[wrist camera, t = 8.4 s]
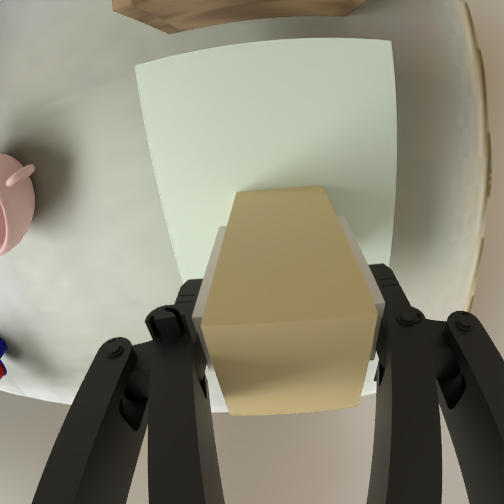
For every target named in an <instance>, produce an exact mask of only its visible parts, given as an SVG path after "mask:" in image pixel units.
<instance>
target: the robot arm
mask: <svg viewBox="0 0 504 504" xmlns="http://www.w3.org/2000/svg"><path fill="white" fill-rule="evenodd" d="M337 218H338V220H339V222H340V225H341V227H342V229H343V231H344V233H345V235H346V238H347V240H348V242H349V244H350V247H351V249H352V251H353V253H354V256H355V258H356V260H357V263H358V265H359V267H360V270H361V272H362V274H363V277H364V279H365V282H366V284H367V286H368V289H369V291H370V294H371V296H372V299H373V301H374V304H375V306H376V309H377V312H378V316H377V321H376V327H375V333H374V338H373V343H372V348H371V353H370V358H369V361H370V360H374V357H375V353H376V351H377V354H378V357H379V362H378V366H377V370H376V374H375V378H374V381H377V392H376V416H375V433H374V445H373V456H372V465H371V475H370V483H369V490H368V497H367V504H441V500H442V499H441V498H442V444H441V426H440V413H439V404H440V407H441V410H442V413H443V415H444V418H445V421H446V424H447V427H448V430H449V433H450V436H451V439H452V442H453V445H454V448H455V451H456V455H457V458H458V462H459V465H460V468H461V472H462V476H463V479H464V483H465V487H466V490H467V495H468V499H469V503H470V504H504V361H503V358H502V357H501V355H500V353H499V352H498V350H497V348H496V347H495V345H494V343H493V342H492V340H491V338H490V337H489V335H488V334H487V332H486V330H485V329H484V327H483V326H482V324H481V323H480V321H479V320H478V319H477V318H476V317H475V316H474V315H472V314H471V313H469V312H465V311H456V312H453V313H451V314H450V315H449V317H448V319H447V322H446V321H435V320H429V319H426V318H425V316H424V314H423V313H422V312H421V311H420V310H418V309H416V308H414V307H411V305H410V303H409V301H408V299H407V298H406V296H405V294H404V292H403V290H402V288H401V286H400V285H399V282H398V281H397V279H396V277H395V275H394V273H393V271H392V270H391V269H390V268H389V267H388V266H386V265H385V264H384V263H380V264H369V265H368V263H367V261H366V259H365V257H364V255H363V253H362V251H361V249H360V247H359V245H358V243H357V241H356V239H355V237H354V235H353V233H352V231H351V229H350V227H349V225H348V223H347V221H346V219H345V217H344V216H337ZM226 227H227V226H220V227H219V230H218V233H217V236H216V239H215V242H214V245H213V249H212V252H211V255H210V258H209V261H208V265H207V268H206V271H205V275H204V278H203V279H188V280H187V281H186V282H185V283H184V284H183V285H182V286H181V288H180V291H179V293H178V297H177V298H176V301H175V304H174V305H165V306H161V307H158V308H156V309H155V310H153V311H151V312H150V313H149V314H148V316H147V317H146V320H145V323H146V325H147V327H148V330H149V332H150V334H151V337H152V339H153V340H151V341H149V342H145V343H141V344H137V345H133V346H132V344H131V342H130V341H129V340H128V339H127V338H123V337H117V338H113V339H110V340H108V341H107V342H105V343H104V344H103V345H102V346H101V347H100V349H99V350H98V352H97V354H96V356H95V358H94V360H93V362H92V364H91V366H90V368H89V370H88V372H87V374H86V376H85V378H84V380H83V382H82V384H81V386H80V388H79V390H78V392H77V394H76V397H75V399H74V401H73V403H72V405H71V407H70V409H69V412H68V414H67V416H66V418H65V421H64V423H63V426H62V427H61V430H60V432H59V434H58V437H57V439H56V441H55V444H54V446H53V449H52V451H51V454H50V456H49V458H48V461H47V463H46V466H45V469H44V471H43V474H42V477H41V479H40V482H39V484H38V487H37V490H36V493H35V496H34V498H33V501H32V504H126V501H127V497H128V493H129V489H130V485H131V482H132V478H133V474H134V471H135V467H136V463H137V460H138V456H139V453H140V449H141V445H142V442H143V438H144V435H145V431H146V428H147V424H148V491H149V504H225V502H224V496H223V491H222V484H221V478H220V472H219V465H218V459H217V452H216V445H215V438H214V430H213V423H212V415H211V407H210V399H209V390H208V381H207V378H206V375H205V369H206V364H207V365H208V368H209V371H210V372H215V370H214V367H213V364H212V361H211V358H210V355H209V352H208V348H207V345H206V342H205V339H204V336H203V332H202V329H201V322H202V318H203V314H204V310H205V307H206V303H207V299H208V295H209V291H210V287H211V283H212V279H213V276H214V272H215V268H216V264H217V261H218V257H219V253H220V249H221V246H222V242H223V238H224V235H225V231H226Z"/></svg>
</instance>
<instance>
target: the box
mask: <svg viewBox="0 0 504 504" xmlns="http://www.w3.org/2000/svg"><path fill="white" fill-rule="evenodd" d="M365 1H366V0H112V7H113V11H115V12H117V13H120V14H123V15H125V16H128V17H130V18H133V19H135V20H138V21H140V22H143V23H145V24H148V25H150V26H152V27H154V28H157V29H159V30H161V31H164V32H166V33H168V34H172V33H176V32H181V31H185V30H190V29H195V28H200V27H205V26H210V25H216V24H222V23H229V22H236V21H243V20H252V19H262V18H273V17H289V16H347V15H348V14H349V13H350V12H352V11H353V10H354V9H356V8H357V7H358V6H359V5H361V4H362V3H363V2H365Z"/></svg>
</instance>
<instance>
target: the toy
mask: <svg viewBox="0 0 504 504" xmlns="http://www.w3.org/2000/svg"><path fill="white" fill-rule="evenodd" d="M6 350H7V345H6V344H5V342H4V341H3V340H2V339H1V338H0V359H1V357H2V356H3V354H4V353H5V351H6ZM6 373H7V370H6V368H5V366H4V364H3V363H2V361H1V360H0V379H1V378H2V377H3V376H4V375H6Z"/></svg>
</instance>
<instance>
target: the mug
mask: <svg viewBox="0 0 504 504" xmlns="http://www.w3.org/2000/svg"><path fill="white" fill-rule="evenodd" d="M34 171H35V166H34V165H33V164H30V165H27V166H25V167H23V166H22V164H21V163H20V162H19V161H17V160H16V159H15V158H13V157H11V156H9V155H6V154H0V256H1V255H3V254H5V253H7V252H8V251H10V250H11V249H12V248H13V247H15V246H16V245H17V244H18V243H19V242H20V241H21V239H22V238H23V236H24V235H25V234H26V232H27V230H28V228H29V225H30V223H31V220H32V218H33V215H34V209H35V194H34V188H33V184H32V181H31V179H30V175H31V174H32V173H33V172H34Z"/></svg>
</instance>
